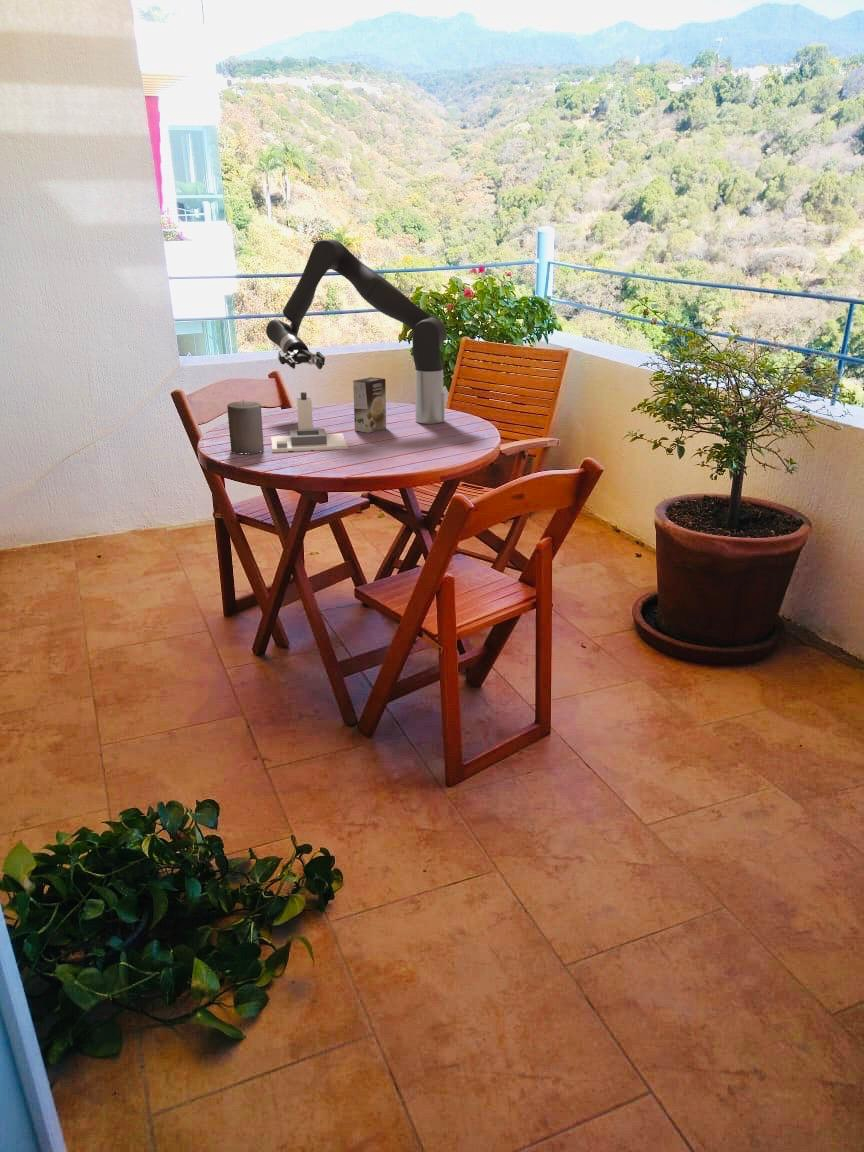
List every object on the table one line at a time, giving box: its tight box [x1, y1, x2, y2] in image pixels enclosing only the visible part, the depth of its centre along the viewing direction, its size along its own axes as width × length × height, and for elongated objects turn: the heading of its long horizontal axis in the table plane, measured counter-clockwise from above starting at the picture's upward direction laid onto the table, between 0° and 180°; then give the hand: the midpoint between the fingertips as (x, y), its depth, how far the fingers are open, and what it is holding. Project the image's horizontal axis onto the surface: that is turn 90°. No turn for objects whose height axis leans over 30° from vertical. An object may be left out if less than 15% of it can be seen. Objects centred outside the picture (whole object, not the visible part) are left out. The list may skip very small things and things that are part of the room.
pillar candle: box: [226, 399, 265, 455], centre depth 243 cm, size 10×10×15 cm
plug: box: [296, 391, 314, 430], centre depth 263 cm, size 4×4×13 cm
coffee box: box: [352, 376, 387, 434], centre depth 268 cm, size 9×6×16 cm
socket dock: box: [270, 427, 348, 453], centre depth 252 cm, size 22×16×4 cm
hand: (307, 366), depth 262 cm, fingers open, 8 cm apart
